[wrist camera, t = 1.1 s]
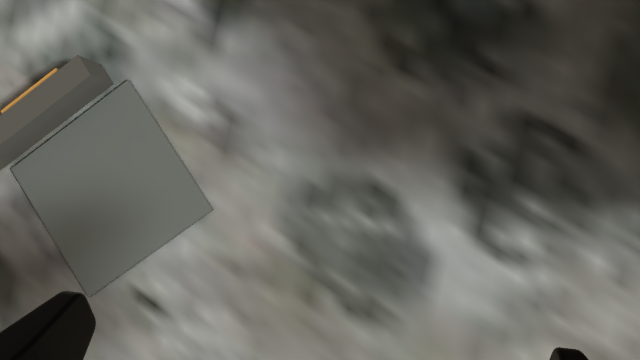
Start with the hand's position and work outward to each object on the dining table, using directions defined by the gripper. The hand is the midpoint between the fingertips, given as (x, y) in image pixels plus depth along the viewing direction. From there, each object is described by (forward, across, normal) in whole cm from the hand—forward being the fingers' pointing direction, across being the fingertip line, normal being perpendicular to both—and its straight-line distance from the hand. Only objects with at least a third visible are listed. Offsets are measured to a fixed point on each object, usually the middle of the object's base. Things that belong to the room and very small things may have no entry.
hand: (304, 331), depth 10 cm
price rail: (+10, +20, +11) cm, 25 cm away
